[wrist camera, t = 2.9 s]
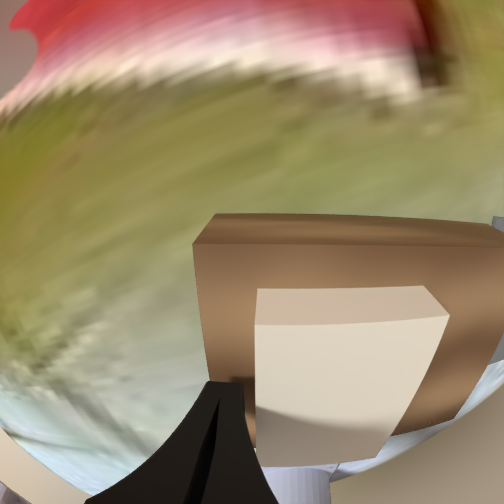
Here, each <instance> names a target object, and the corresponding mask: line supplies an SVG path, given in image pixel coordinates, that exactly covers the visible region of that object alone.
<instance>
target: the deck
mask: <svg viewBox="0 0 504 504" xmlns="http://www.w3.org/2000/svg"><path fill="white" fill-rule="evenodd" d="M192 246H193V257H194V267H195V276H196V285H197V294H198V302H199V310H200V318H201V325H202V332H203V339H204V346H205V353H206V359H207V366H208V372H209V378H210V381H217V382H233V383H241V384H243V385H244V401H245V418H246V422H247V427H248V431H249V435H250V438H251V441H252V444H253V448H256V408H255V313H256V301H257V289H327V288H375V287H403V286H424V287H425V288H426V289H427V290H428V291H429V292H430V293H431V294H432V295H433V296H434V298H435V299H436V300H437V301H438V302H439V303H440V304H441V305H442V307H443V308H444V309H445V310H446V311H447V312H448V313H449V315H450V316H449V319H448V322H447V325H446V327H445V330H444V332H443V335H442V338H441V340H440V342H439V345H438V347H437V350H436V352H435V354H434V357H433V359H432V361H431V363H430V365H429V367H428V370H427V372H426V374H425V376H424V378H423V380H422V382H421V384H420V386H419V388H418V390H417V391H416V393H415V395H414V397H413V399H412V401H411V403H410V404H409V406H408V408H407V410H406V411H405V413H404V415H403V416H402V418H401V420H400V421H399V423H398V424H397V426H396V428H395V429H394V431H393V432H392V434H391V435H390V436H394V435H399V434H403V433H407V432H411V431H415V430H419V429H423V428H426V427H430V426H433V425H436V424H440V423H443V422H446V421H449V420H452V419H454V417H455V416H456V414H457V413H458V412H459V410H460V409H461V407H462V406H463V405H464V403H465V402H466V400H467V399H468V397H469V396H470V394H471V392H472V391H473V389H474V388H475V386H476V384H477V383H478V381H479V379H480V378H481V376H482V374H483V373H484V371H485V369H486V367H487V366H488V364H489V362H490V360H491V358H492V356H493V354H494V352H495V350H496V348H497V346H498V344H499V342H500V340H501V338H502V336H503V334H504V232H502V231H500V230H498V229H496V228H494V227H492V226H490V225H488V224H481V223H470V222H459V221H446V220H433V219H418V218H401V217H382V216H358V215H328V214H215V215H214V216H213V218H212V219H211V220H210V222H209V223H208V224H207V225H206V227H205V228H204V229H203V231H202V232H201V233H200V235H199V236H198V237H197V239H196V240H195V241H194V243H193V244H192Z"/></svg>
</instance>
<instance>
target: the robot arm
mask: <svg viewBox="0 0 504 504" xmlns="http://www.w3.org/2000/svg"><path fill="white" fill-rule="evenodd" d="M338 465H339V463H337V464H328V465H317V466H302V467H261V466H260V464H259V461H258V459H257V456H256V453H255V451H254V448H253V444H252V441H251V438H250V435H249V431H248V427H247V422H246V418H245V401H244V385H243V384H241V383H233V382H217V381H208V382H206V384H205V386H204V388H203V390H202V391H201V393H200V395H199V397H198V398H197V400H196V401H195V403H194V405H193V406H192V408H191V409H190V411H189V412H188V413H187V415H186V416H185V418H184V419H183V420H182V422H181V423H180V425H179V426H178V427H177V428H176V429H175V431H174V432H173V433H172V434H171V436H170V437H169V438H168V439H167V440H166V441H165V442H164V444H163V445H162V446H161V447H160V448H159V449H158V450H157V451H156V452H155V453H154V454H153V455H152V456H151V457H150V458H149V459H147V460H146V461H145V462H144V463H143V464H142V465H141V466H139V467H138V468H137V469H136V470H134V471H133V472H132V473H131V474H129V475H128V476H126V477H125V478H123V479H122V480H120V481H119V482H117V483H116V484H114V485H113V486H111V487H110V488H108V489H106V490H104V491H102V492H100V493H99V494H97V495H95V496H93V497H91V498H89V499H87V500H86V501H85V503H84V504H331V497H330V487H329V480H330V478H331V476H332V475H333V473H334V471H335V470H336V468H337V466H338ZM0 504H31V503H30V502H28V501H27V500H25V499H24V498H23V497H21V496H20V495H19V494H17V493H16V492H14V491H12V490H11V489H10V488H9V487H7V486H6V485H5V484H4V483H2V482H1V481H0Z"/></svg>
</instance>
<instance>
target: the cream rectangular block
mask: <svg viewBox="0 0 504 504" xmlns="http://www.w3.org/2000/svg"><path fill="white" fill-rule="evenodd" d="M449 316H450V315H449V313H448V312H447V311H446V310H445V309H444V308H443V307H442V305H441V304H440V303H439V302H438V301H437V300H436V299H435V298H434V296H433V295H432V294H431V293H430V292H429V291H428V290H427V289H426V288H425V287H424V286H403V287H375V288H327V289H257V301H256V313H255V408H256V456H257V459H258V461H259V464H260V466H261V467H302V466H317V465H328V464H337V463H345V462H352V461H358V460H364V459H370V458H375V457H376V456H377V454H378V453H379V451H380V450H381V449H382V447H383V446H384V444H385V443H386V441H387V440H388V438H389V437H390V435H391V434H392V432H393V431H394V429H395V428H396V426H397V424H398V423H399V421H400V420H401V418H402V416H403V415H404V413H405V411H406V410H407V408H408V406H409V404H410V403H411V401H412V399H413V397H414V395H415V393H416V391H417V390H418V388H419V386H420V384H421V382H422V380H423V378H424V376H425V374H426V372H427V370H428V367H429V365H430V363H431V361H432V359H433V357H434V354H435V352H436V350H437V347H438V345H439V342H440V340H441V338H442V335H443V332H444V330H445V327H446V325H447V322H448V319H449Z"/></svg>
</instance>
